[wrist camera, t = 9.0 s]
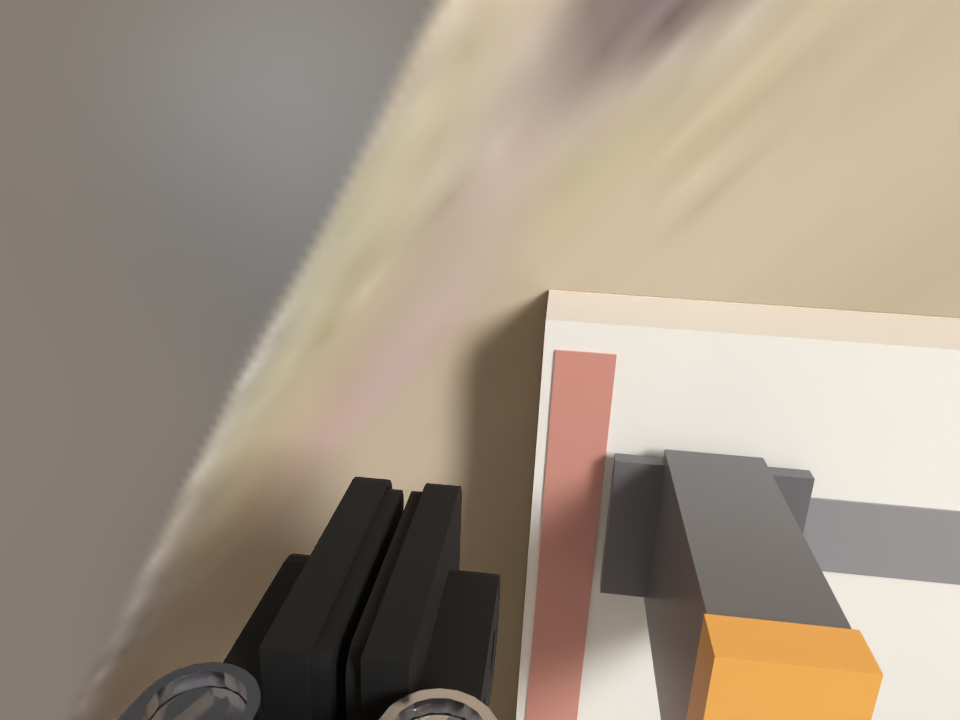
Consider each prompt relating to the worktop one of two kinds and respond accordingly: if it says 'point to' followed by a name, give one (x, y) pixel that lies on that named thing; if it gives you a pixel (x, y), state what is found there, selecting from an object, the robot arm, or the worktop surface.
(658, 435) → the breaker panel
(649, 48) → the worktop surface
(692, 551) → the breaker
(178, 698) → the robot arm
